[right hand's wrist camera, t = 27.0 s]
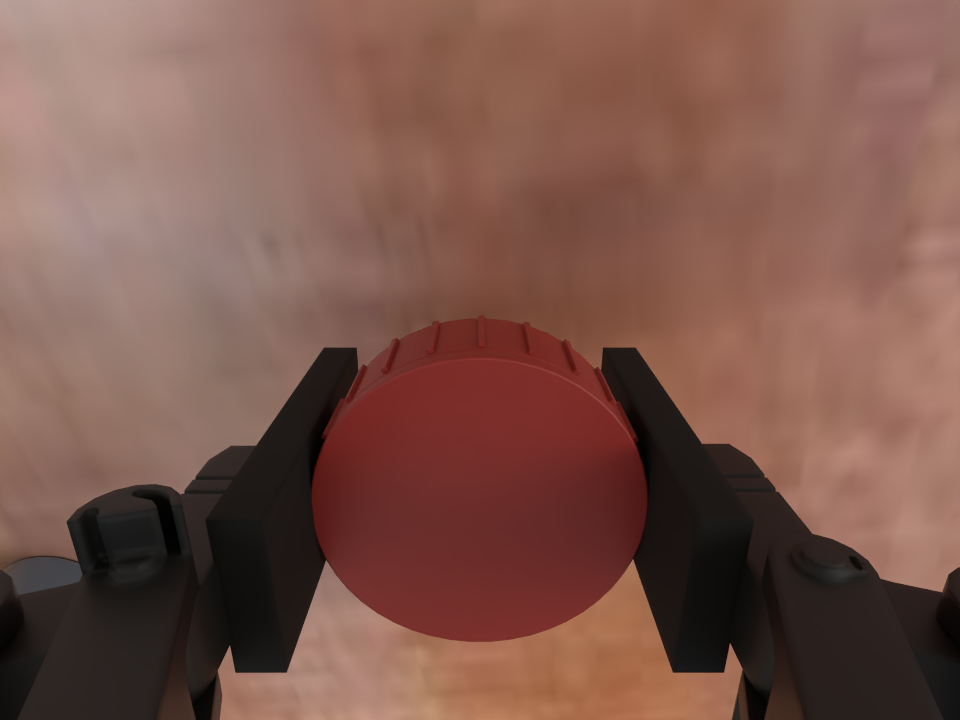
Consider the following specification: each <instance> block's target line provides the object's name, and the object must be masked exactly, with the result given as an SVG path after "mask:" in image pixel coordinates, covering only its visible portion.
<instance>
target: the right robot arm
mask: <svg viewBox="0 0 960 720" xmlns="http://www.w3.org/2000/svg"><path fill="white" fill-rule="evenodd" d="M601 372H602V374H603V376H604V378H605V380H606V382H607V384H608V386H609V388H610V390H611V392H612V395H613V397H614V399H615V401H616V402H617V401H619V402H620V404H621V406H622V408H623V410H624V412H625V414H626V416H627V418H628V420H629V422H630V424H631V426H632V428H633V430H634V432H635V434H636V436H637V438H638V441H639V442H636V443H635V444H636V446H637V449H638V451H639V454H640V457H641V459H642V462H643V465H644V469H645V474H646V479H647V484H648V505H647V513H646V522H645V528H644V532H643V536H642V539H641V542H640V544H639V547H638V549H637V551H636V553H635V556H634V558H633V560H634V563H635V565H636V568H637V571H638V574H639V577H640V580H641V583H642V585H643V588H644V591H645V594H646V597H647V600H648V603H649V605H650V608H651V611H652V614H653V617H654V620H655V622H656V625H657V628H658V631H659V634H660V637H661V640H662V642H663V645H664V648H665V651H666V654H667V657H668V660H669V662H670V665H671V668H672V671H673V673H724V670H725V665H726V660H727V655H728V650H729V645H730V643H731V645H732V648H733V650H734V652H735V654H736V656H737V658H738V660H739V662H740V664H741V666H742V668H743V670H742V675H741V679H740V684H739V689H738V693H737V698H736V703H735V707H734V712H733V717H732V720H960V567H959V568H957V569H956V570H954V571H953V572H951V573H950V574H949V575H948V578H947V581H946V583H945V586H944V589H943V592H937V591H932V590H928V589H923V588H918V587H913V586H908V585H904V584H899V583H894V582H890V581H886V580H883V579H880V577H879V575H878V573H877V572H876V571H875V569H874V568H873V566H872V565H871V564H870V562H869V561H868V560H867V559H865V558H864V557H863V556H861V555H860V554H859V553H857V552H856V551H855V550H853V549H852V548H850V547H848V546H846V545H844V544H841V543H839V542H837V541H835V540H833V539H830V538H826V537H822V536H818V535H815V534H812V533H811V532H810V530H809V529H808V528H807V527H806V525H805V524H804V523H803V522H802V520H801V519H800V518H799V517H798V515H797V514H796V513H795V512H794V511H793V509H792V508H791V507H790V506H789V504H788V503H787V502H786V501H785V499H784V498H783V497H782V496H781V494H780V493H779V492H776V490H775V487H774V486H773V485H772V483H771V482H770V481H769V480H768V478H765V477H764V473H763V472H762V471H761V470H760V468H759V467H758V466H757V465H756V464H755V462H754V461H753V460H752V459H751V458H750V457H749V456H747V455H745V454H744V453H742V452H741V451H739V450H738V449H736V448H734V447H733V446H731V445H730V444H702V443H701V442H700V440H699V439H698V437H697V436H696V434H695V433H694V432H693V430H692V429H691V427H690V426H689V424H688V423H687V421H686V420H685V419H684V417H683V416H682V414H681V413H680V411H679V410H678V408H677V407H676V406H675V404H674V403H673V401H672V400H671V398H670V397H669V395H668V394H667V393H666V391H665V390H664V388H663V387H662V385H661V384H660V382H659V381H658V380H657V378H656V377H655V375H654V374H653V372H652V371H651V369H650V368H649V366H648V365H647V364H646V362H645V361H644V359H643V358H642V356H641V355H640V353H639V352H638V351H637V349H636V348H603V355H602V368H601ZM357 373H358V360H357V348H324V349H323V350H322V351H321V353H320V354H319V356H318V357H317V359H316V360H315V362H314V363H313V364H312V366H311V367H310V369H309V370H308V372H307V373H306V375H305V376H304V378H303V379H302V380H301V382H300V383H299V385H298V386H297V388H296V389H295V391H294V392H293V393H292V395H291V396H290V398H289V399H288V401H287V402H286V404H285V405H284V406H283V408H282V409H281V411H280V412H279V414H278V415H277V417H276V418H275V419H274V421H273V422H272V424H271V425H270V427H269V428H268V430H267V431H266V432H265V434H264V435H263V437H262V438H261V440H260V441H259V443H258V444H257V446H230V447H229V448H227V449H225V450H224V451H222V452H221V453H219V454H218V455H216V456H214V457H213V458H211V459H210V460H209V461H208V462H207V463H206V464H205V466H204V467H203V468H202V469H201V471H200V472H199V473H198V474H197V476H196V479H195V480H192V482H191V483H190V484H189V485H188V487H187V488H186V489H185V493H184V494H181V495H180V494H179V493H178V492H176V491H175V490H174V489H173V488H171V487H167V486H162V485H157V484H151V485H135V486H131V487H127V488H122V489H118V490H114V491H112V492H109V493H107V494H104V495H102V496H100V497H97V498H95V499H93V500H91V501H90V502H88V503H87V504H85V505H84V506H82V507H81V508H79V509H77V511H76V512H75V513H74V514H73V515H72V516H71V517H70V518H69V520H68V521H67V525H68V528H69V531H70V535H71V538H72V541H73V545H74V548H75V551H76V555H77V558H78V561H79V565H80V568H81V571H82V576H81V579H80V581H79V582H76V583H72V584H69V585H64V586H59V587H55V588H50V589H45V590H40V591H36V592H31V593H26V594H21V595H18V593H17V591H16V588H15V585H14V582H13V579H12V577H11V576H9V575H8V574H7V573H5V572H4V571H2V570H0V720H220V711H221V702H222V691H221V684H220V679H219V675H218V669H219V667H220V664H221V662H222V660H223V658H224V656H225V654H226V652H227V650H228V648H229V646H230V647H231V652H232V657H233V662H234V667H235V672H236V673H287V670H288V667H289V664H290V661H291V658H292V656H293V653H294V650H295V647H296V644H297V641H298V639H299V636H300V633H301V630H302V627H303V624H304V621H305V619H306V616H307V613H308V610H309V607H310V604H311V602H312V599H313V596H314V593H315V590H316V587H317V584H318V582H319V579H320V576H321V573H322V570H323V567H324V564H325V562H326V558H325V556H324V554H323V552H322V549H321V547H320V545H319V543H318V540H317V536H316V532H315V525H314V517H313V509H312V500H311V483H312V478H313V472H314V467H315V464H316V461H317V459H318V456H319V453H320V450H321V448H322V446H323V444H324V442H325V440H324V439H322V438H321V437H322V435H323V433H324V431H325V429H326V427H327V425H328V423H329V421H330V419H331V417H332V415H333V413H334V411H335V409H336V407H337V405H338V403H339V401H340V399H341V398H343V399H345V398H346V396H347V394H348V392H349V390H350V388H351V386H352V384H353V382H354V380H355V378H356V375H357Z"/></svg>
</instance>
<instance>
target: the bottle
mask: <svg viewBox="0 0 960 720" xmlns="http://www.w3.org/2000/svg"><path fill="white" fill-rule="evenodd" d="M3 571H4V572H5V573H7V574H8V575H9V576H11V577H12V579H13V582H14V585H15V588H16V591H17V593H18V595H21V594H26V593H31V592H36V591H40V590H45V589H50V588H55V587H59V586H64V585H69V584H72V583H76V582H79V581H80V579H81V576H82V571H81V568H80V565H79V563H77V562H74V561H71V560H67V559H63V558H56V557H33V558H27V559H24V560H20V561H18V562H16V563H13V564H11V565H10V566H8V567H7V568H5V569H4V570H3Z"/></svg>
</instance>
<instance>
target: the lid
mask: <svg viewBox="0 0 960 720" xmlns="http://www.w3.org/2000/svg"><path fill="white" fill-rule="evenodd" d="M321 438H322V439H324V440H325V442H324V444H323V446H322V448H321V450H320V453H319V456H318V459H317V461H316V464H315V467H314V472H313V478H312V483H311V500H312V509H313V517H314V525H315V532H316V536H317V540H318V543H319V545H320V547H321V549H322V552H323V554H324V556H325V558H326V560H327V562H328V563H329V565H330V566H331V568H332V569H333V571H334V573H335V574H336V575H337V577H338V578H339V579H340V580H341V581H342V583H343V584H344V585H345V586H346V587H347V589H348V590H350V591H351V592H352V593H353V594H354V595H355V596H356V597H357V598H358V599H359V600H360V601H361V602H363V603H364V604H365V605H367V606H368V607H370V608H371V609H372V610H374V611H375V612H377V613H378V614H380V615H382V616H383V617H385V618H387V619H389V620H391V621H392V622H394V623H396V624H399V625H401V626H403V627H406V628H408V629H410V630H413V631H416V632H420V633H423V634H426V635H429V636H433V637H439V638H444V639H449V640H457V641H468V642H492V641H502V640H511V639H515V638H520V637H525V636H530V635H533V634H536V633H539V632H542V631H545V630H549V629H551V628H553V627H555V626H558V625H560V624H562V623H565V622H567V621H568V620H570V619H572V618H574V617H575V616H577V615H579V614H581V613H582V612H584V611H585V610H586V609H588V608H589V607H591V606H592V605H593V604H595V603H596V602H597V601H599V600H600V599H601V598H602V597H603V596H604V595H605V594H606V593H607V592H608V591H609V590H610V589H611V588H612V587H613V586H614V585H615V584H616V582H617V581H618V580H619V579H620V577H621V576H622V575H623V574H624V572H625V571H626V569H627V568H628V566H629V564H630V563H631V561H632V559H633V558H634V556H635V553H636V551H637V549H638V547H639V544H640V542H641V539H642V536H643V532H644V528H645V522H646V513H647V505H648V484H647V479H646V474H645V469H644V465H643V462H642V459H641V457H640V454H639V451H638V449H637V446H636V444H635V443H636V442H639V441H638V438H637V436H636V434H635V432H634V430H633V428H632V426H631V424H630V422H629V420H628V418H627V416H626V414H625V412H624V410H623V408H622V406H621V404H620V402H619V401H617V402H616V401H615V399H614V397H613V395H612V392H611V390H610V388H609V386H608V384H607V382H606V380H605V378H604V376H603V374H602V372H601V370H600V369H599V368H598V367H597V368H596V369H594V368H593V367H592V366H591V365H590V364H589V363H588V362H587V361H586V360H585V359H584V358H583V357H582V356H581V355H580V354H579V353H577V352H576V351H575V350H573V349H572V347H571V344H570V342H569V341H567V340H564V342H562V341H560V340H558V339H556V338H555V337H553V336H551V335H549V334H547V333H545V332H542V331H540V330H537V329H535V328H532V327H530V324H529V323H527V322H524V323H523V325H522V324H518V323H514V322H510V321H503V320H495V319H484V316H478V319H464V320H456V321H448V322H444V323H441V324H439V321H435V322H433V324H432V326H429V327H426V328H424V329H421V330H419V331H417V332H414V333H412V334H409V335H408V336H406V337H404V338H402V339H401V340H398V339H397V338H395V339H393V340H392V342H391V345H390V346H389V347H388V348H387V349H385V350H384V351H383V352H382V353H380V354H379V355H378V356H377V357H376V358H375V359H374V360H373V361H372V362H371V363H370V364H369V365H368V366H367V367H366V366H365V365H362V366H361V368H360V369H359V371H358V373H357V375H356V378H355V380H354V382H353V384H352V386H351V388H350V390H349V392H348V394H347V396H346V398H345V399H343V398H341V399H340V401H339V403H338V405H337V407H336V409H335V411H334V413H333V415H332V417H331V419H330V421H329V423H328V425H327V427H326V429H325V431H324V433H323V435H322V437H321Z"/></svg>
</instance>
